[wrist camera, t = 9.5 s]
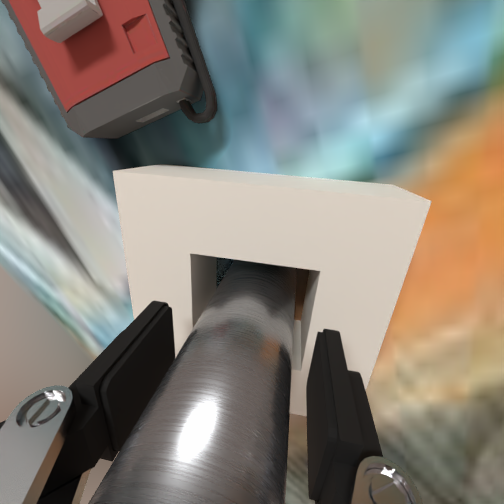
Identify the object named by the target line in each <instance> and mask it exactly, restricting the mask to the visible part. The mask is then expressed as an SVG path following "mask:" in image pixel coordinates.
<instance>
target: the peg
mask: <svg viewBox="0 0 504 504" xmlns="http://www.w3.org/2000/svg"><path fill="white" fill-rule="evenodd" d="M295 291H296V270H295V268H294V267H287V266H280V265H272V264H265V263H258V262H250V261H243V260H235V259H234V261H233V262H232V264H231V266H230V267H229V269H228V271H227V272H226V274H225V276H224V277H223V279H222V281H221V282H220V284H219V286H218V288H217V289H216V291H215V293H214V294H213V296H212V298H211V299H210V301H209V303H208V304H207V306H206V308H205V309H204V311H203V313H202V314H201V316H200V318H199V319H198V321H197V323H196V324H195V326H194V328H193V329H192V331H191V333H190V334H189V336H188V338H187V339H186V341H185V343H184V344H183V346H182V348H181V349H180V351H179V353H178V354H177V356H176V358H175V360H174V361H173V363H172V365H171V366H170V368H169V370H168V371H167V373H166V375H165V376H164V378H163V380H162V381H161V383H160V385H159V386H158V388H157V390H156V391H155V393H154V395H153V396H152V398H151V400H150V401H149V403H148V405H147V406H146V408H145V410H144V411H143V413H142V415H141V416H140V418H139V420H138V421H137V423H136V425H135V427H134V428H133V430H132V432H131V433H130V435H129V437H128V438H127V440H126V442H125V443H124V445H123V447H122V448H121V450H120V452H119V453H118V455H117V457H116V458H115V460H114V462H113V464H112V465H111V467H110V469H109V470H108V472H107V473H106V475H105V477H104V479H103V480H102V482H101V483H100V485H99V487H98V489H97V490H96V492H95V494H94V495H93V497H92V499H91V500H90V502H89V504H285V494H286V473H287V453H288V433H289V413H290V393H291V372H292V352H293V332H294V312H295Z"/></svg>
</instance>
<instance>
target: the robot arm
mask: <svg viewBox="0 0 504 504" xmlns="http://www.w3.org/2000/svg"><path fill="white" fill-rule="evenodd" d="M174 360H175V343H174V329H173V315H172V308H171V307H169V305H168V303H166V302H160V301H152V302H151V303H150V304H149V305H148V306H147V307H146V308H145V309H144V310H143V311H142V312H141V313H140V314H139V315H138V316H137V318H136V319H135V320H134V321H133V322H132V323H131V324H130V325H129V326H128V327H127V328H126V329H125V330H124V331H122V332H121V333H120V334H119V335H118V336H117V337H116V338H115V339H114V340H113V341H112V343H111V344H110V345H109V346H108V347H107V348H106V349H105V350H104V351H103V352H102V353H101V354H100V355H99V356H98V357H97V358H96V359H95V360H94V361H93V362H92V363H91V365H90V366H89V367H88V368H87V369H86V370H85V371H84V372H83V373H82V374H81V375H80V376H79V377H78V378H77V380H75V381H74V382H73V383H72V384H71V385H70V387H69V388H67V387H64V386H51V387H46V388H44V389H42V390H39V391H37V392H35V393H33V394H31V395H30V396H28V397H27V398H26V399H24V400H23V401H22V402H21V403H19V405H18V406H17V407H16V408H15V409H14V410H13V412H12V413H11V415H10V416H9V417H8V419H7V420H6V421H3V422H1V423H0V504H80V501H81V498H82V494H83V491H84V489H85V486H86V483H87V480H88V476H89V474H90V471H91V468H93V467H95V465H96V463H97V462H98V460H99V459H100V458H101V459H105V460H109V461H113V460H114V458H115V456H116V454H117V453H118V451H120V450H121V448H122V447H123V445H124V443H125V442H126V440H127V438H128V437H129V435H130V433H131V432H132V430H133V428H134V427H135V425H136V423H137V421H138V420H139V418H140V416H141V415H142V413H143V411H144V410H145V408H146V406H147V405H148V403H149V401H150V400H151V398H152V396H153V395H154V393H155V391H156V390H157V388H158V386H159V385H160V383H161V381H162V380H163V378H164V376H165V375H166V373H167V371H168V370H169V368H170V366H171V365H172V363H173V361H174ZM306 406H307V446H308V487H309V499H311V500H315V504H423V503H422V499H421V496H420V494H419V492H418V490H417V487H416V486H415V484H414V483H413V481H412V480H411V479H410V477H409V476H408V475H407V474H406V473H405V472H404V471H403V470H402V469H401V468H400V467H399V466H398V465H396V464H395V463H393V462H392V461H390V460H388V459H385V458H383V455H382V451H381V448H380V444H379V440H378V436H377V433H376V429H375V425H374V421H373V417H372V414H371V410H370V406H369V402H368V399H367V395H366V391H365V387H364V384H363V380H362V377H361V374H360V373H359V372H356V371H351V370H348V368H347V364H346V359H345V354H344V350H343V345H342V340H341V335H340V332H339V331H336V330H330V329H323V332H318V333H317V337H316V341H315V346H314V351H313V355H312V360H311V365H310V370H309V374H308V379H307V385H306Z"/></svg>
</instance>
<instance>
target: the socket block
mask: <svg viewBox="0 0 504 504" xmlns="http://www.w3.org/2000/svg"><path fill="white" fill-rule="evenodd" d="M113 176H114V183H115V190H116V197H117V204H118V211H119V218H120V225H121V232H122V239H123V246H124V253H125V260H126V267H127V274H128V281H129V287H130V294H131V301H132V308H133V315H134V320H135V319H136V318H137V316H138V315H139V314H140V313H141V312H142V311H143V310H144V309H145V308H146V307H147V306H148V305H149V304H150V303H151V302H152V301H160V302H166V303H168V305H169V307H171V308H172V315H173V329H174V343H175V358H176V356H177V354H178V353H179V351H180V349H181V348H182V346H183V344H184V343H185V341H186V339H187V338H188V336H189V334H190V333H191V331H192V329H193V328H194V326H195V324H196V323H197V321H198V319H199V318H200V316H201V314H202V313H203V311H204V309H205V308H206V306H207V304H208V303H209V301H210V299H211V298H212V296H213V294H214V293H215V291H216V280H217V257H221V258H228V259H235V260H243V261H250V262H258V263H265V264H272V265H280V266H287V267H294V268H302V269H309V270H310V271H309V276H308V282H307V288H306V293H305V299H304V305H303V310H302V316H301V321H300V320H294V332H293V352H292V372H291V393H290V413H291V414H296V415H301V416H306V417H307V406H306V385H307V379H308V374H309V370H310V365H311V360H312V355H313V351H314V346H315V341H316V337H317V333H318V332H323V329H330V330H336V331H339V332H340V335H341V340H342V345H343V350H344V354H345V359H346V364H347V368H348V370H351V371H356V372H359V373H360V374H361V377H362V380H363V384H364V387H365V391H366V388H367V385H368V383H369V380H370V377H371V374H372V371H373V368H374V365H375V362H376V360H377V357H378V354H379V351H380V348H381V345H382V342H383V339H384V337H385V334H386V331H387V328H388V325H389V322H390V319H391V316H392V314H393V311H394V308H395V305H396V302H397V299H398V296H399V293H400V291H401V288H402V285H403V282H404V279H405V276H406V273H407V270H408V268H409V265H410V262H411V259H412V256H413V253H414V250H415V247H416V245H417V242H418V239H419V236H420V233H421V230H422V227H423V224H424V222H425V219H426V216H427V213H428V210H429V207H430V204H431V201H430V200H427V199H425V198H423V197H420V196H418V195H416V194H413V193H411V192H409V191H406V190H404V189H402V188H399V187H397V186H395V185H390V184H379V183H368V182H357V181H345V180H334V179H323V178H312V177H300V176H289V175H278V174H267V173H255V172H244V171H233V170H222V169H210V168H199V167H188V166H177V165H165V164H159V165H152V166H145V167H137V168H130V169H123V170H116V171H113Z"/></svg>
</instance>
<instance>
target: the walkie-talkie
mask: <svg viewBox="0 0 504 504" xmlns="http://www.w3.org/2000/svg"><path fill="white" fill-rule="evenodd" d="M1 1H2V3H3V4H5V6H6V8H7V10H8V12H9V16H10V18H11V20H13V21H14V23H15V25H16V27H17V31H18V33H19V35H21V37H22V39H23V40H24V42H25V47H26V49H27V50H29V52H30V54H31V56H32V60H33V62H34V64H36V65H37V67H38V69H39V71H40V75H41V77H42V78H43V79H44V80H45V82H46V84H47V89H48V90H49V91H50V92H51V94H52V96H53V98H54V102H55V104H56V105H58V107H59V109H60V111H61V115H62V117H64V119H65V121H66V122H67V127H68V128H70V129H71V130H73V131H74V132H76V133H77V134H79V135H80V136H82V137H89V138H116V139H117V138H120V137H122V136H124V135H126V134H128V133H130V132H133V131H135V130H137V129H139V128H141V127H143V126H146V125H148V124H150V123H152V122H154V121H156V120H159V119H161V118H163V117H165V116H167V115H169V114H171V113H174V112H176V111H178V110H180V109H182V111H183V113H184V114H185V115H186V116H187V117H188V119H189V120H191V121H193V122H195V123H196V122H197V123H206V122H209V121H211V120H212V119H213V118H214V116H215V114H216V111H217V101H216V93H215V90H214V87H213V84H212V81H211V78H210V75H209V72H208V70H207V67H206V64H205V61H204V58H203V55H202V52H201V49H200V46H199V43H198V40H197V37H196V34H195V31H194V28H193V25H192V22H191V19H190V16H189V13H188V10H187V7H186V4H185V1H184V0H1ZM203 90H204V92H205V96H206V109H205V111H204V112H203V113H196V112H195V111H194V109H193V108H192V106H191V104H193V103H195V102H197V101H200V100H201V97H202V93H203Z"/></svg>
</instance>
